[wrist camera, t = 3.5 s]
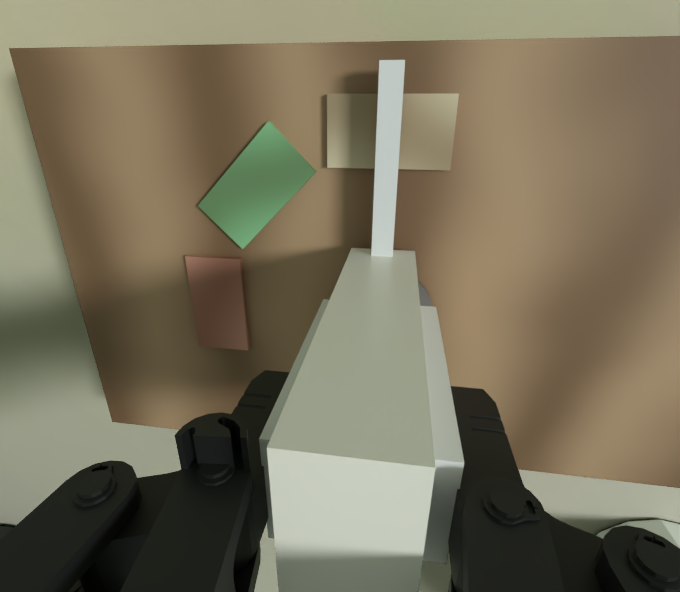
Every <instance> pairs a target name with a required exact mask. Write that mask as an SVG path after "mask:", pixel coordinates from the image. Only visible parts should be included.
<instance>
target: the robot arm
mask: <svg viewBox="0 0 680 592" xmlns="http://www.w3.org/2000/svg"><path fill="white" fill-rule="evenodd" d="M328 302H329V300H328V299H323V301H322V303H321V306H320V308H319V310H318V312H317V314H316V316H315V319H314V321H313V323H312V325H311V327H310V329H309V332H308V334H307V336H306V338H305V340H304V342H303V345H302V347H301V349H300V351H299V353H298V355H297V358H296V360H295V362H294V364H293V366H292V368H291V371H290V372H281V371H270V370H265V371H263V372H262V373H261V374H259V375H258V376H257V377H255V378H254V379H253V380H251V382H250V384H249V385H248V387H247V389H246V390H245V392H244V395H243V396H242V397H241V399H240V400H239V402H238V404H237V407H235V409H234V410H233V412H232V414H228V413H222V412H221V413H210V414H206V415H203V416H200V417H197V418H195V419H193V420H191V421H190V422H188V423H187V424H185V425H184V426H182V428H181V429H180V430H179V431H178V432H177V433H176V435H175V439H176V444H177V449H178V454H179V459H180V464H181V470H180V471H176V472H172V473H168V474H161V475H154V476H148V477H141V478H137V477H136V474H135V472H134V470H133V467H132V466H130V465H129V464H127V463H125V462H123V461H106V462H102V463H97V464H94V465H92V466H89V467H87V468H85V469H83V470H81V471H79V472H78V473H76V474H75V475H73V476H72V477H71V478H69V479H68V480H66V481H65V482H64V483H63V484H62V485H61V486H60V487H59V488H58V489H56V490H55V491H54V492H53V493H52V494H51V495H50V496H49V497H48V498H46V499H45V500H44V501H43V502H42V503H41V504H40V505H39V506H38V507H36V508H35V509H34V510H33V511H32V512H31V513H30V514H29V515H28V516H26V517H25V518H24V519H23V520H22V521H21V522H20V523H19V524H18V525H16V526H15V527H14V528H13V527H6V526H0V592H254V589H255V584H256V579H257V575H258V570H259V565H260V540H261V537H262V534H263V531H264V528H265V525H266V523H267V529H268V537H269V538H274V528H273V516H272V504H271V493H270V481H269V469H268V457H267V446H268V443H269V441H270V439H271V436H272V434H273V432H274V429H275V427H276V425H277V422H278V420H279V417H280V415H281V413H282V410H283V408H284V406H285V403H286V401H287V399H288V396H289V394H290V392H291V389H292V387H293V385H294V382H295V380H296V377H297V375H298V373H299V370H300V368H301V366H302V363H303V361H304V359H305V356H306V354H307V352H308V349H309V347H310V344H311V342H312V340H313V337H314V335H315V333H316V330H317V328H318V326H319V323H320V321H321V319H322V316H323V314H324V312H325V309H326V307H327V304H328ZM420 308H421V319H422V330H423V340H424V351H425V361H426V372H427V382H428V393H429V403H430V414H431V425H432V435H433V446H434V456H435V467H436V468H435V476H434V483H433V490H432V497H431V504H430V511H429V518H428V526H427V533H426V540H425V547H424V554H423V561H429V562H436V563H442V564H447V558H448V553H449V554H450V563H451V572H452V574H451V579H450V584H449V590H448V592H680V548H678V547H677V546H675V545H674V544H672V543H671V542H670V541H668V540H667V539H665V538H664V537H662V536H660V535H657V534H655V533H653V532H650V531H648V530H646V529H644V528H638V527H633V526H627V525H625V526H619V527H614V528H612V529H611V530H610V531H609V532H608V533H607V534H606V535H605V536H604V538H600V537H598V536H595V535H593V534H590V533H588V532H585V531H583V530H580V529H577V528H575V527H572V526H570V525H568V524H566V523H564V522H561V521H559V520H557V519H555V518H554V517H552V516H551V515H550V514H548V513H547V512H545V511H544V509H543V507H542V505H541V503H540V502H539V500H538V499H537V498H536V497H535V496H534V495H533V494H532V493H531V492H530V491H529V490H527V489H526V488H525V487H524V485H523V483H522V480H521V477H520V474H519V471H518V468H517V465H516V462H515V459H514V456H513V453H512V450H511V447H510V444H509V441H508V438H507V435H506V434H505V429H504V426H503V423H502V421H501V417H500V414H499V411H498V408H497V405H496V402H495V401H494V400H493V399H492V398H491V397H490V396H489V395H488V394H487V393H486V392H485V390H484V389H478V388H467V387H456V386H450V380H449V375H448V369H447V364H446V358H445V353H444V347H443V342H442V336H441V331H440V325H439V320H438V314H437V309H436V307H432V306H420Z"/></svg>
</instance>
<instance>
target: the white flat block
mask: <svg viewBox="0 0 680 592" xmlns="http://www.w3.org/2000/svg"><path fill="white" fill-rule="evenodd" d="M404 72H405V60H379V81H378V105H377V129H376V153H375V177H374V201H373V225H372V249H366V248H351V250H350V253H349V255H348V257H347V260H346V262H345V264H344V267H343V269H342V272H341V274H340V276H339V279H338V281H337V283H336V286H335V288H334V290H333V293H332V295H331V297H330V300H329V302H328V304H327V307H326V309H325V312H324V314H323V316H322V319H321V321H320V323H319V326H318V328H317V330H316V333H315V335H314V337H313V340H312V342H311V344H310V347H309V349H308V352H307V354H306V356H305V359H304V361H303V363H302V366H301V368H300V370H299V373H298V375H297V377H296V380H295V382H294V385H293V387H292V389H291V392H290V394H289V396H288V399H287V401H286V403H285V406H284V408H283V410H282V413H281V415H280V417H279V420H278V422H277V425H276V427H275V429H274V432H273V434H272V436H271V439H270V441H269V443H268V446H267V457H268V469H269V481H270V493H271V504H272V516H273V528H274V540H275V552H276V563H277V575H278V587H279V592H418V590H419V583H420V576H421V569H422V561H423V554H424V547H425V540H426V533H427V526H428V518H429V511H430V504H431V497H432V490H433V483H434V476H435V468H436V467H435V456H434V446H433V435H432V425H431V414H430V403H429V393H428V382H427V372H426V361H425V351H424V340H423V330H422V319H421V308H420V298H419V287H418V277H417V266H416V256H415V251H406V250H393V244H394V228H395V212H396V197H397V181H398V165H399V150H400V134H401V118H402V103H403V87H404Z"/></svg>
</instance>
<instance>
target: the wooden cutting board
mask: <svg viewBox="0 0 680 592" xmlns="http://www.w3.org/2000/svg"><path fill="white" fill-rule="evenodd" d="M9 50H10V54H11V57H12V61H13V65H14V68H15V72H16V75H17V79H18V83H19V86H20V90H21V93H22V97H23V101H24V104H25V108H26V112H27V115H28V119H29V122H30V126H31V130H32V133H33V137H34V140H35V144H36V148H37V151H38V155H39V158H40V162H41V166H42V169H43V173H44V177H45V180H46V184H47V187H48V191H49V195H50V198H51V202H52V205H53V209H54V213H55V216H56V220H57V223H58V227H59V231H60V234H61V238H62V241H63V245H64V249H65V252H66V256H67V260H68V263H69V267H70V270H71V274H72V278H73V281H74V285H75V288H76V292H77V296H78V299H79V303H80V306H81V310H82V314H83V317H84V321H85V325H86V328H87V332H88V335H89V339H90V343H91V346H92V350H93V353H94V357H95V361H96V364H97V368H98V371H99V375H100V379H101V382H102V386H103V390H104V393H105V397H106V400H107V404H108V408H109V411H110V415H111V418H112V422H119V423H127V424H136V425H145V426H153V427H162V428H170V429H179V430H180V429H181V428H182V426H184V425H185V424H187V423H188V422H190V421H191V420H193V419H195V418H197V417H200V416H203V415H206V414H210V413H221V412H222V413H228V414H232V412H233V410H234V409H235V407H237V404H238V402H239V400H240V399H241V397H242V396H243V395H244V392H245V390H246V389H247V387H248V385H249V384H250V382H251V380H253V379H254V378H255V377H257V376H258V375H259V374H261V373H262V372H263V371H265V370H270V371H281V372H290V371H291V368H292V366H293V364H294V362H295V360H296V358H297V355H298V353H299V351H300V349H301V347H302V345H303V342H304V340H305V338H306V336H307V334H308V332H309V329H310V327H311V325H312V323H313V321H314V319H315V316H316V314H317V312H318V310H319V308H320V306H321V303H322V301H323V299H328V300H330V297H331V295H332V293H333V290H334V288H335V286H336V283H337V281H338V279H339V276H340V274H341V272H342V269H343V267H344V264H345V262H346V260H347V257H348V255H349V253H350V250H351V248H366V249H372V225H373V201H374V177H375V153H376V129H377V105H378V81H379V60H405V72H404V87H403V103H402V118H401V134H400V150H399V165H398V181H397V197H396V212H395V228H394V244H393V250H406V251H415V256H416V266H417V277H418V287H419V298H420V306H432V307H436V309H437V314H438V320H439V325H440V331H441V336H442V342H443V347H444V353H445V358H446V364H447V369H448V375H449V380H450V386H456V387H467V388H478V389H484V390H485V392H486V393H487V394H488V395H489V396H490V397H491V398H492V399H493V400H494V401H495V402H496V405H497V408H498V411H499V414H500V417H501V421H502V423H503V426H504V429H505V434H506V435H507V438H508V441H509V444H510V447H511V450H512V453H513V456H514V459H515V462H516V465H517V468H518V469H521V470H530V471H538V472H547V473H556V474H564V475H573V476H581V477H590V478H598V479H607V480H616V481H624V482H633V483H641V484H650V485H658V486H667V487H675V488H680V36H656V37H602V38H547V39H493V40H439V41H385V42H331V43H277V44H223V45H169V46H115V47H61V48H9Z"/></svg>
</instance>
